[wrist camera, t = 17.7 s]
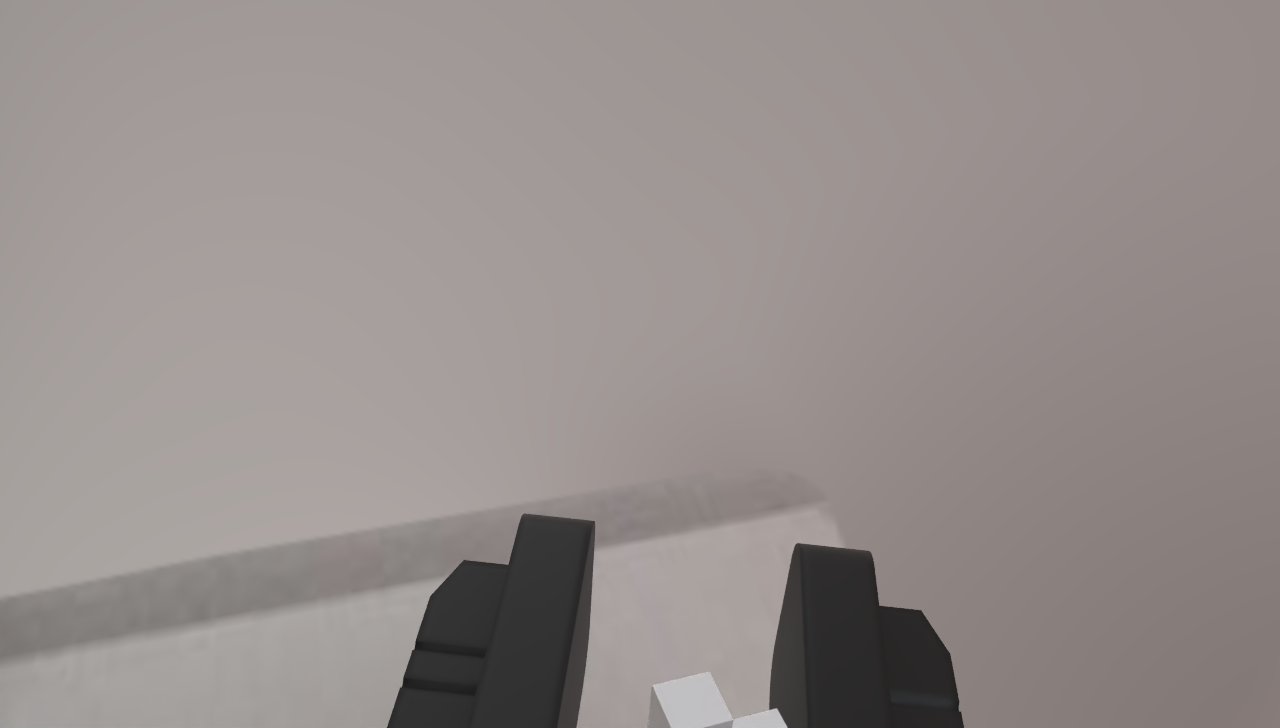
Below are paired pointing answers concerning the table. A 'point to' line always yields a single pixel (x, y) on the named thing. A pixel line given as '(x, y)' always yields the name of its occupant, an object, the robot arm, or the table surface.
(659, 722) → the chess piece
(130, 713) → the table surface
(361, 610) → the table surface
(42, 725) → the table surface
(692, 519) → the table surface
